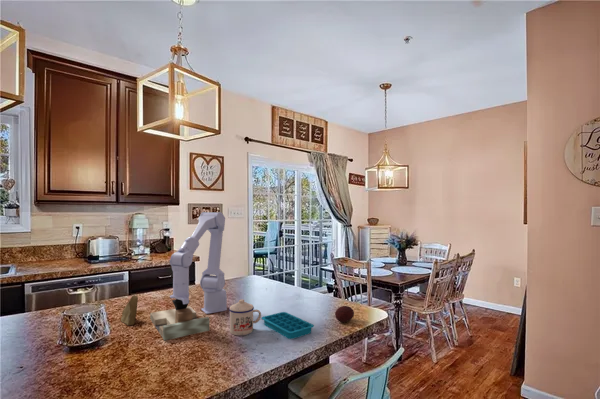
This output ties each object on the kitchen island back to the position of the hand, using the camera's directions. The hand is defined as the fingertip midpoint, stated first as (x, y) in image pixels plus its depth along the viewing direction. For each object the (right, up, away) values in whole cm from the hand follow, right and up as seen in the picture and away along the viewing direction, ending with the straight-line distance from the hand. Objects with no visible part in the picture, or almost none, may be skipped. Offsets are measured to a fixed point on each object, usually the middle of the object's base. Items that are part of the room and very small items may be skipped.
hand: (180, 318), depth 124 cm
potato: (+64, -4, +6) cm, 64 cm away
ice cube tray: (+41, -4, -2) cm, 41 cm away
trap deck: (-2, -3, +3) cm, 5 cm away
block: (+3, -1, -4) cm, 5 cm away
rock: (-24, -4, +6) cm, 25 cm away
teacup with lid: (+26, -4, -4) cm, 26 cm away
